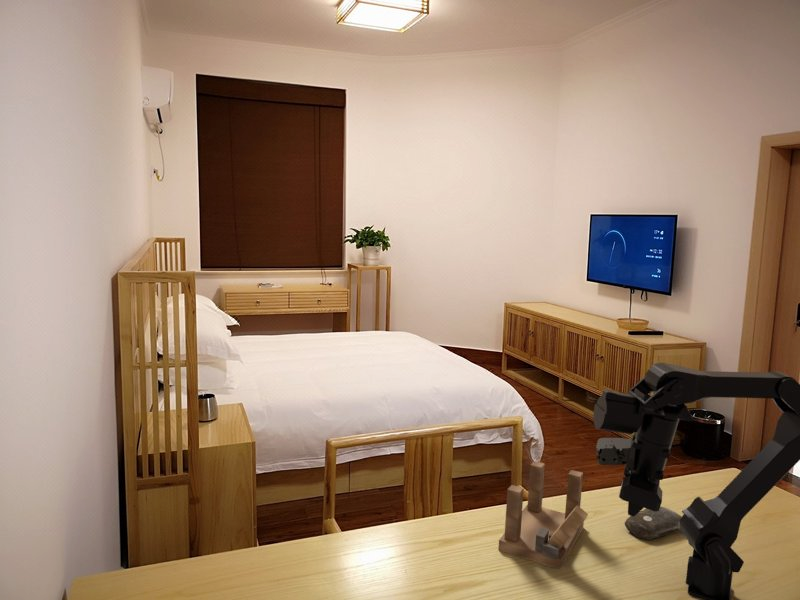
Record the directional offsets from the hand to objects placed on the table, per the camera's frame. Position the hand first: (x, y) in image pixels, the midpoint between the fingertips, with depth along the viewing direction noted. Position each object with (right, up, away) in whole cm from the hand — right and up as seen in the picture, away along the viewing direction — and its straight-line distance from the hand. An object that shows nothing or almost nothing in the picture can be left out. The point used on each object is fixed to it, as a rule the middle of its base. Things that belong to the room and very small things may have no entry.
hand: (630, 514), depth 105 cm
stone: (+13, -11, +20) cm, 26 cm away
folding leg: (-12, -8, +6) cm, 16 cm away
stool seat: (-12, -10, +14) cm, 21 cm away
